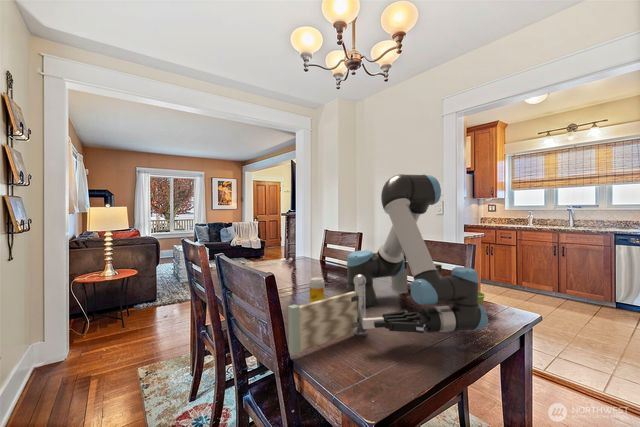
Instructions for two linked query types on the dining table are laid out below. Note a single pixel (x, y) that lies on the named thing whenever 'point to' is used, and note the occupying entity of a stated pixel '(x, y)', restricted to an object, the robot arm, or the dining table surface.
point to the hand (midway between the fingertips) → (362, 323)
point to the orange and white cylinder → (316, 289)
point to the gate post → (360, 303)
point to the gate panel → (321, 321)
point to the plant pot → (480, 298)
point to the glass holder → (400, 282)
